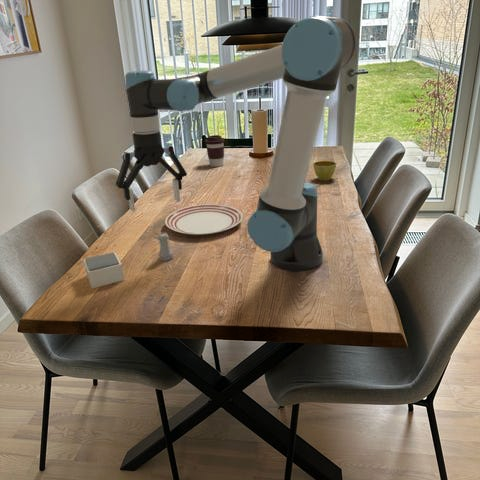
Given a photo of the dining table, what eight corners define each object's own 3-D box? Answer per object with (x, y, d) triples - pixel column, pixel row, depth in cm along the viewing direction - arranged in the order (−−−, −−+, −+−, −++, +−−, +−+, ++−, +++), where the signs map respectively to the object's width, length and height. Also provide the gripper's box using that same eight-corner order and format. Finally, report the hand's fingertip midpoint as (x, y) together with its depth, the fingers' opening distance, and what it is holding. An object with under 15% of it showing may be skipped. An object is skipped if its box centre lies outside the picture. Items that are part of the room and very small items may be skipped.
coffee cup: (225, 167, 236) (223, 137, 230) (206, 168, 236) (203, 138, 230) (226, 162, 245) (224, 133, 239) (208, 163, 245) (205, 135, 239)
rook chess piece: (166, 253, 144) (163, 230, 141) (176, 257, 141) (173, 233, 138) (155, 259, 141) (152, 235, 138) (165, 262, 138) (162, 238, 135)
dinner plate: (258, 223, 163) (258, 214, 162) (198, 248, 147) (197, 238, 145) (209, 206, 182) (209, 198, 181) (151, 227, 166) (149, 219, 164)
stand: (124, 280, 129) (121, 263, 127) (91, 288, 126) (88, 271, 124) (118, 267, 137) (114, 251, 135) (86, 275, 134) (83, 258, 132)
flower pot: (333, 175, 211) (333, 159, 208) (338, 181, 202) (338, 165, 199) (311, 176, 211) (311, 161, 208) (315, 183, 202) (315, 167, 199)
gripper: (183, 123, 133) (190, 193, 142) (96, 135, 123) (109, 210, 131) (194, 127, 127) (200, 200, 136) (103, 140, 117) (116, 218, 125)
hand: (155, 205), depth 134 cm, fingers open, 13 cm apart
